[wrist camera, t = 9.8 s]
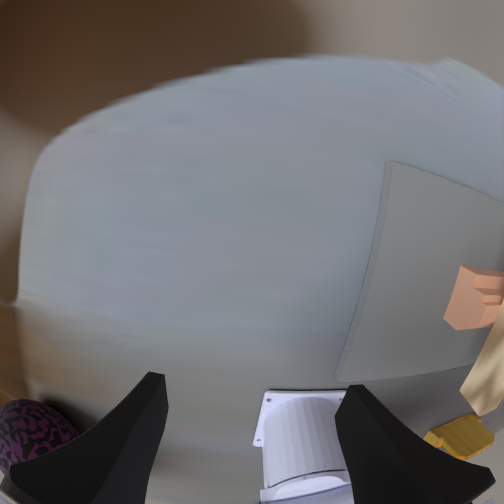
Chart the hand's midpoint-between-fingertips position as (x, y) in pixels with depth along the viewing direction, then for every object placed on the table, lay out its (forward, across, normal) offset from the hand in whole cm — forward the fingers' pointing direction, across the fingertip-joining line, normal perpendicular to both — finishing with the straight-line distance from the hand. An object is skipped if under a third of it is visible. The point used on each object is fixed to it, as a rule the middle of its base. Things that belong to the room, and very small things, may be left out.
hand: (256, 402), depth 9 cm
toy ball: (+10, +25, +25) cm, 36 cm away
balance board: (+10, -18, -1) cm, 21 cm away
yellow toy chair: (+10, -34, +24) cm, 43 cm away
